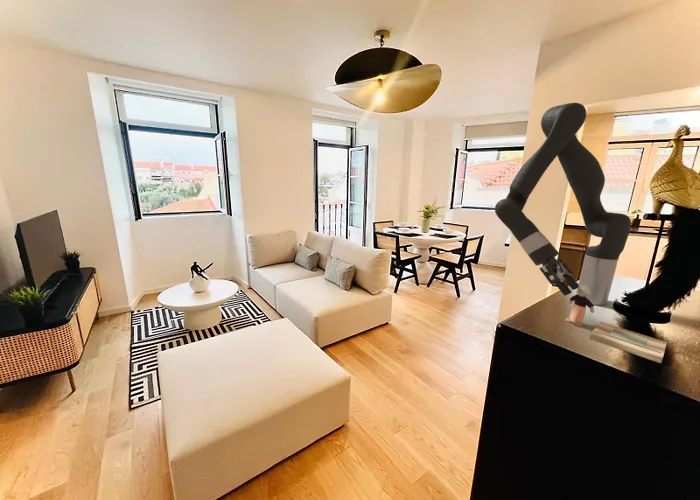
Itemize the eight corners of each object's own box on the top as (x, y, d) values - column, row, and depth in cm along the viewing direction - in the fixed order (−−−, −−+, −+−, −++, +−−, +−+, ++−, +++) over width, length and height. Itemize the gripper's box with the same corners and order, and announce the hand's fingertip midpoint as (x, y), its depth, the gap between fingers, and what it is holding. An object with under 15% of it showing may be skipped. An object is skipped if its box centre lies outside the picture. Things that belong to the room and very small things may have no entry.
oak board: (599, 326, 88) (600, 321, 88) (665, 347, 78) (667, 341, 77) (589, 338, 81) (590, 333, 80) (660, 363, 70) (662, 357, 70)
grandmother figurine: (559, 319, 92) (567, 282, 89) (565, 317, 94) (573, 280, 91) (587, 330, 85) (597, 290, 82) (593, 328, 87) (603, 288, 84)
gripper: (541, 244, 88) (578, 290, 82) (556, 239, 97) (591, 281, 91) (519, 257, 93) (553, 301, 87) (536, 251, 102) (567, 291, 96)
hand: (572, 291), depth 89 cm, fingers open, 8 cm apart
